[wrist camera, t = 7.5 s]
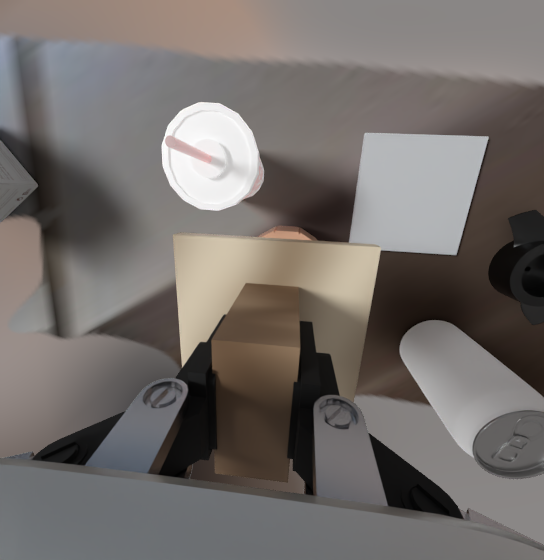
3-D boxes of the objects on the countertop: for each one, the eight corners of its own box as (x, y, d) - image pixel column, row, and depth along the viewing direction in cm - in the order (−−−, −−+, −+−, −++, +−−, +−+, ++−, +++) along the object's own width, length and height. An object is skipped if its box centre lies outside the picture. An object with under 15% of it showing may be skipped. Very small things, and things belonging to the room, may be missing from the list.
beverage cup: (275, 203, 25) (250, 206, 11) (215, 210, 25) (124, 222, 12) (268, 132, 23) (227, 39, 10) (203, 143, 24) (82, 69, 10)
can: (474, 329, 27) (606, 427, 15) (441, 377, 29) (537, 495, 17) (415, 309, 26) (504, 392, 15) (387, 359, 29) (447, 465, 17)
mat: (485, 137, 21) (488, 136, 21) (453, 254, 24) (456, 255, 24) (364, 133, 22) (365, 132, 22) (348, 247, 25) (348, 248, 25)
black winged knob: (458, 305, 26) (476, 317, 23) (503, 205, 23) (531, 206, 20) (534, 321, 26) (562, 335, 23) (591, 222, 23) (631, 225, 20)
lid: (375, 244, 11) (450, 285, 6) (347, 405, 14) (381, 537, 9) (180, 232, 12) (83, 259, 7) (190, 389, 15) (127, 501, 9)
